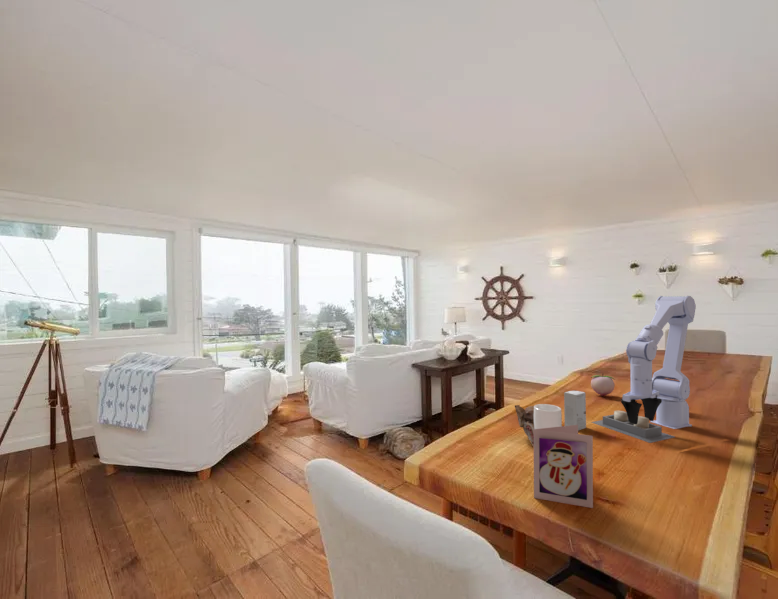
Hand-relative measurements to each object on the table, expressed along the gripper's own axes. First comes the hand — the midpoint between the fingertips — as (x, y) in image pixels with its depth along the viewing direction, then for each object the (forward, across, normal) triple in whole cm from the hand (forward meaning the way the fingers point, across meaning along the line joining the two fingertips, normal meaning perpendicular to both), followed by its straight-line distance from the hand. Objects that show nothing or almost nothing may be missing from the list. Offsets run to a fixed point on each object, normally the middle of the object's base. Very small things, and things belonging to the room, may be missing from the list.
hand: (641, 421), depth 119 cm
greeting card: (+4, -53, -18) cm, 56 cm away
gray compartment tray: (+4, 0, +3) cm, 5 cm away
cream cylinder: (+3, 0, 0) cm, 3 cm away
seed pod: (+4, -35, +7) cm, 36 cm away
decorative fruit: (+4, +30, +37) cm, 48 cm away
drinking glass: (+4, -44, -5) cm, 44 cm away
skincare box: (+4, -15, +12) cm, 20 cm away
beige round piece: (+3, 0, +7) cm, 8 cm away
